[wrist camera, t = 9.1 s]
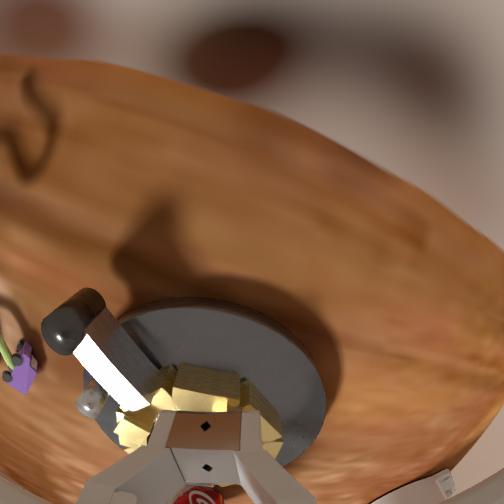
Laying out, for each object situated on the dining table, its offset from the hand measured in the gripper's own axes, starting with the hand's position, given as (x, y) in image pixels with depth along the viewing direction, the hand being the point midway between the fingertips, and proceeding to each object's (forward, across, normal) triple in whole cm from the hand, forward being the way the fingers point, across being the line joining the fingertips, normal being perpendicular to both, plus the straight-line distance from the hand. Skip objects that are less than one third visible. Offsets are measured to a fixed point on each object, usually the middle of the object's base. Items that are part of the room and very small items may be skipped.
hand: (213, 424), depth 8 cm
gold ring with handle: (+8, +5, +6) cm, 11 cm away
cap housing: (+11, +3, +9) cm, 14 cm away
